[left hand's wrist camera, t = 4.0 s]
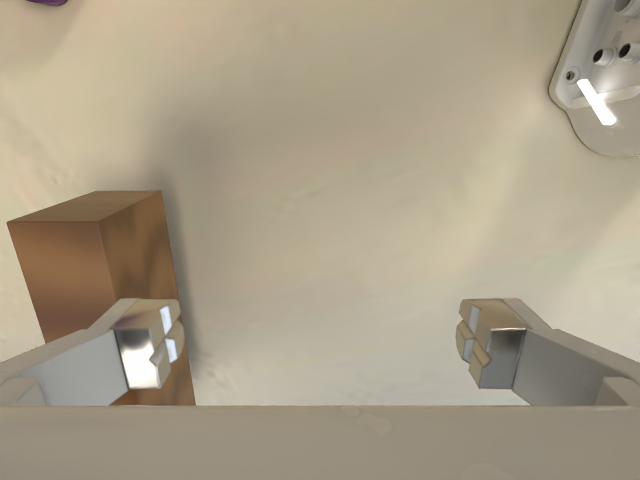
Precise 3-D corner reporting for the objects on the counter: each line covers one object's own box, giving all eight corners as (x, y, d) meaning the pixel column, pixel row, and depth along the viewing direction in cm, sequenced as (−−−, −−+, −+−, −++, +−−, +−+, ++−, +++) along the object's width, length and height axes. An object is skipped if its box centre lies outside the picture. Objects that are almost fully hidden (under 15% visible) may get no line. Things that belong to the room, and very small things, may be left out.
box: (95, 190, 33) (5, 221, 24) (161, 190, 33) (97, 221, 24) (144, 407, 42) (93, 492, 33) (196, 407, 42) (160, 492, 33)
